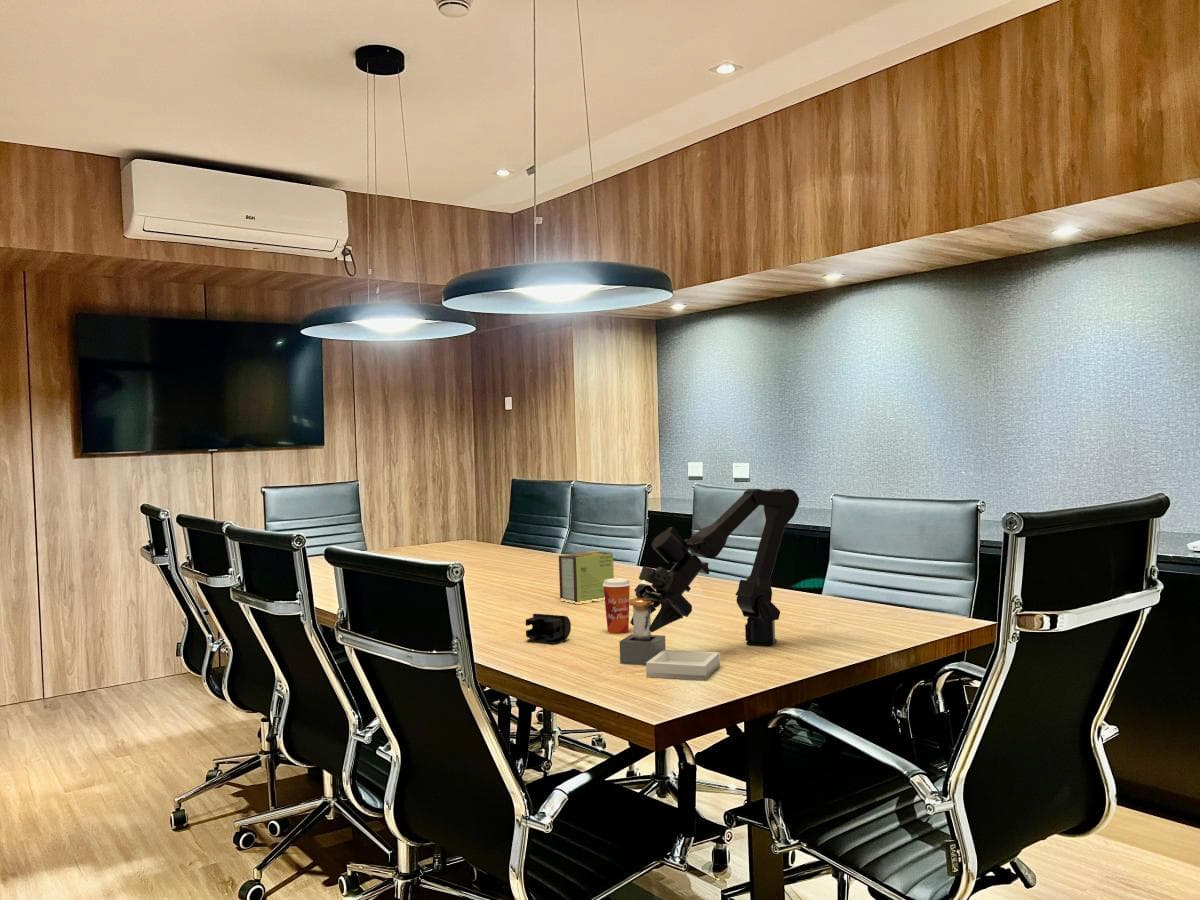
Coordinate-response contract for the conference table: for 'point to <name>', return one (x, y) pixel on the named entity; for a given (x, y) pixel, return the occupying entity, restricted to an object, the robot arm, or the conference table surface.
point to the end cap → (548, 629)
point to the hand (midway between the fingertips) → (640, 627)
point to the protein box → (584, 575)
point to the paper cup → (617, 604)
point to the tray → (683, 664)
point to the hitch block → (640, 649)
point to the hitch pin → (641, 618)
